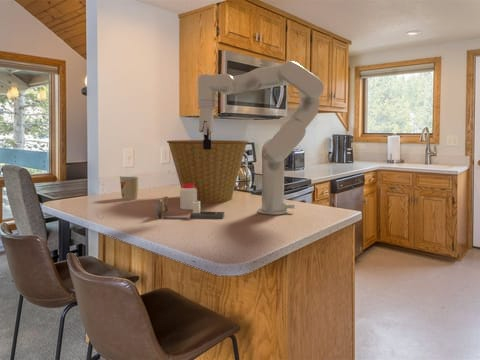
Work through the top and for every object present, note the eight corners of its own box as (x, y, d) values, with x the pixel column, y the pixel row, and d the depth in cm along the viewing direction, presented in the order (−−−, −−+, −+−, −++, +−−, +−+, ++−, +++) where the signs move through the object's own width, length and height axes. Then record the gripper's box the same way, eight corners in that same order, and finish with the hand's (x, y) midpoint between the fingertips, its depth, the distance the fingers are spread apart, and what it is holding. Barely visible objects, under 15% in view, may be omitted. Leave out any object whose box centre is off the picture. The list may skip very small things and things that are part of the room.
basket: (151, 201, 191) (149, 140, 187) (193, 190, 229) (193, 139, 225) (228, 208, 174) (228, 142, 171) (259, 195, 213) (260, 140, 209)
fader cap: (200, 211, 158) (200, 200, 158) (198, 213, 155) (198, 202, 154) (194, 211, 159) (194, 200, 158) (192, 213, 155) (192, 202, 154)
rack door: (165, 210, 164) (165, 196, 163) (168, 210, 164) (167, 196, 163) (159, 215, 154) (159, 200, 153) (162, 215, 154) (162, 200, 153)
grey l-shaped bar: (187, 218, 153) (187, 200, 152) (186, 219, 151) (186, 200, 151) (158, 218, 154) (158, 199, 153) (157, 218, 152) (157, 200, 151)
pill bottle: (194, 209, 171) (193, 185, 169) (177, 209, 172) (177, 184, 171) (199, 206, 178) (199, 183, 177) (183, 205, 180) (183, 182, 178)
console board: (224, 215, 159) (224, 211, 159) (222, 218, 153) (222, 214, 153) (193, 214, 160) (193, 211, 160) (190, 217, 154) (190, 214, 154)
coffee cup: (120, 197, 201) (119, 175, 200) (138, 197, 204) (138, 174, 203) (120, 200, 193) (119, 176, 191) (139, 199, 195) (139, 176, 194)
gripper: (201, 106, 168) (201, 148, 170) (194, 103, 153) (195, 150, 155) (218, 106, 167) (218, 148, 170) (213, 103, 153) (213, 150, 155)
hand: (207, 149), depth 162 cm, fingers closed
